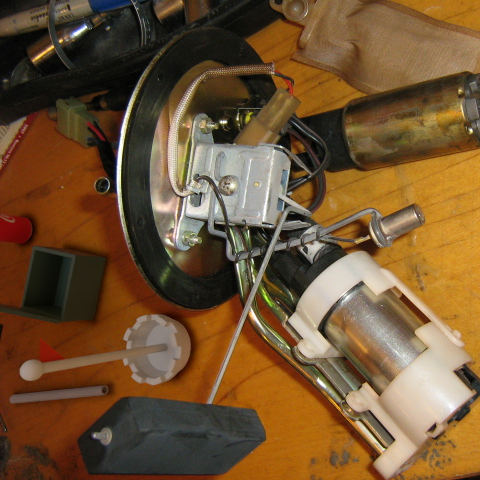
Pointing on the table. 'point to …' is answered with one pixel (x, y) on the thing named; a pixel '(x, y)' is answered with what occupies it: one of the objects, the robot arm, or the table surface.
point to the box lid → (26, 313)
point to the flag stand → (128, 352)
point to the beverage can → (14, 229)
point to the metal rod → (60, 394)
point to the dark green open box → (63, 283)
